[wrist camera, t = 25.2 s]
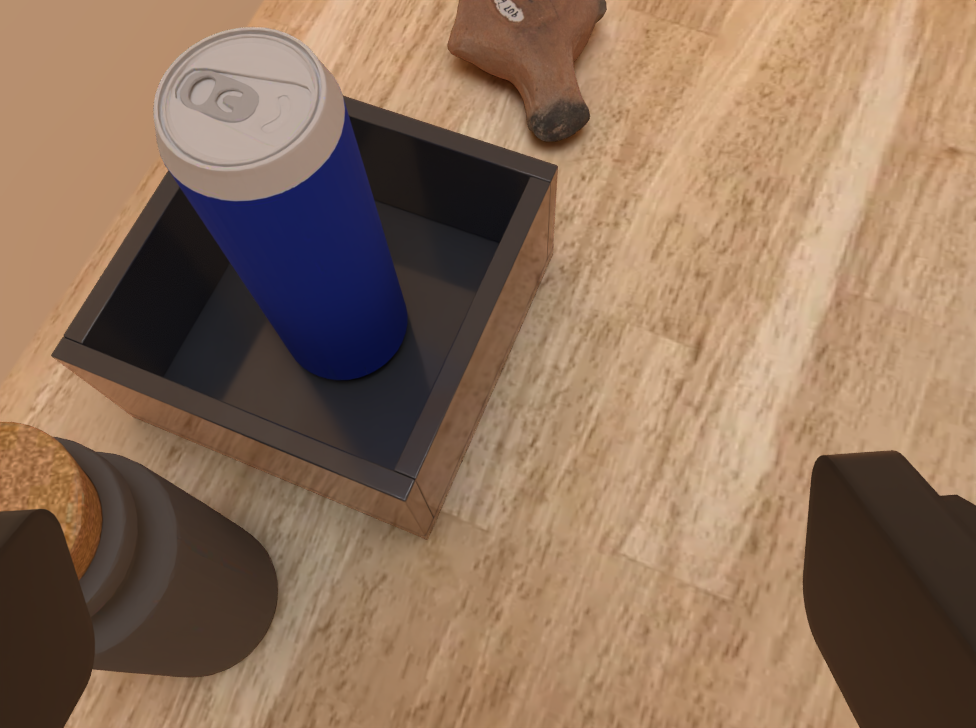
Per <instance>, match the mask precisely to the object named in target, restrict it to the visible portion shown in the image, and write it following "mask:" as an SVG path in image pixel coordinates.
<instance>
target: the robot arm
mask: <svg viewBox="0 0 976 728" xmlns="http://www.w3.org/2000/svg"><path fill="white" fill-rule="evenodd" d="M803 596H804V604H805V610H806V615H807V619H808V623H809V626H810V629H811V632H812V635H813V637H814V639H815V642H816V644H817V646H818V648H819V650H820V652H821V653H822V655H823V657H824V659H825V661H826V663H827V665H828V667H829V669H830V671H831V673H832V675H833V677H834V679H835V681H836V683H837V685H838V686H839V688H840V690H841V692H842V694H843V696H844V698H845V700H846V702H847V704H848V706H849V708H850V710H851V712H852V714H853V716H854V718H855V719H856V721H857V723H858V725H859V727H860V728H976V505H974V504H972V503H971V502H969V501H967V500H965V499H963V498H962V497H960V496H958V495H946V496H939V495H938V493H937V492H936V491H935V490H934V489H933V488H932V487H931V486H930V485H929V484H928V482H927V481H926V480H925V479H924V478H923V477H922V476H921V475H920V474H919V472H918V471H917V470H916V469H915V468H914V467H913V466H912V465H911V464H910V463H909V461H908V460H907V459H906V458H905V457H904V456H903V455H902V454H901V453H899V452H897V451H893V450H891V451H877V452H863V453H849V454H835V455H823V456H820V457H819V458H817V460H816V462H815V464H814V467H813V471H812V477H811V487H810V499H809V511H808V523H807V535H806V547H805V558H804V570H803ZM94 656H95V634H94V628H93V624H92V620H91V617H90V614H89V611H88V608H87V605H86V601H85V598H84V595H83V592H82V589H81V586H80V583H79V580H78V576H77V573H76V570H75V567H74V564H73V561H72V558H71V555H70V551H69V548H68V545H67V542H66V539H65V536H64V533H63V530H62V527H61V525H60V523H59V521H58V519H57V518H56V516H55V515H54V514H53V513H52V512H50V511H49V510H46V509H30V510H16V511H2V512H0V728H64V726H65V724H66V722H67V720H68V719H69V717H70V715H71V713H72V711H73V710H74V708H75V706H76V704H77V702H78V701H79V699H80V697H81V695H82V693H83V692H84V690H85V688H86V686H87V684H88V681H89V679H90V676H91V672H92V668H93V663H94Z"/></svg>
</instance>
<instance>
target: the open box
mask: <svg viewBox="0 0 976 728" xmlns="http://www.w3.org/2000/svg"><path fill="white" fill-rule="evenodd" d="M343 98H344V101H345V105H346V108H347V111H348V115H349V118H350V121H351V125H352V128H353V131H354V135H355V138H356V141H357V145H358V148H359V151H360V155H361V158H362V161H363V164H364V168H365V171H366V174H367V178H368V181H369V184H370V188H371V191H372V194H373V198H374V201H375V204H376V208H377V211H378V214H379V218H380V221H381V224H382V228H383V231H384V234H385V238H386V241H387V244H388V248H389V251H390V254H391V258H392V261H393V264H394V268H395V271H396V274H397V278H398V281H399V284H400V288H401V291H402V294H403V298H404V301H405V304H406V309H407V329H406V333H405V336H404V339H403V342H402V344H401V345H400V347H399V349H398V350H397V352H396V353H395V354H394V356H393V357H392V358H391V359H390V360H389V361H388V362H387V363H386V364H385V365H383V366H382V367H380V368H379V369H378V370H376V371H374V372H372V373H370V374H368V375H365V376H362V377H359V378H355V379H350V380H333V379H327V378H323V377H319V376H317V375H315V374H313V373H310V372H309V371H308V370H306V369H305V368H303V367H302V366H301V365H300V364H299V363H298V362H297V361H296V360H295V359H294V357H293V356H292V355H291V353H290V352H289V350H288V349H287V347H286V346H285V344H284V343H283V341H282V340H281V338H280V337H279V335H278V334H277V332H276V331H275V329H274V328H273V326H272V325H271V323H270V322H269V320H268V319H267V317H266V316H265V314H264V313H263V311H262V310H261V308H260V307H259V305H258V304H257V302H256V301H255V299H254V298H253V296H252V295H251V293H250V292H249V290H248V289H247V287H246V286H245V284H244V283H243V281H242V280H241V278H240V277H239V275H238V274H237V272H236V271H235V269H234V268H233V266H232V265H231V263H230V262H229V260H228V259H227V257H226V256H225V254H224V253H223V251H222V250H221V248H220V247H219V245H218V244H217V242H216V241H215V239H214V238H213V236H212V235H211V233H210V232H209V230H208V229H207V227H206V226H205V224H204V223H203V221H202V220H201V218H200V217H199V215H198V214H197V212H196V211H195V209H194V208H193V206H192V205H191V203H190V202H189V200H188V199H187V197H186V196H185V194H184V193H183V191H182V190H181V188H180V187H179V185H178V184H177V182H176V181H175V179H174V178H173V176H172V175H171V173H170V172H169V170H168V172H167V173H166V175H165V176H164V178H163V180H162V181H161V183H160V184H159V186H158V187H157V189H156V191H155V192H154V194H153V195H152V197H151V198H150V200H149V202H148V203H147V205H146V206H145V208H144V209H143V211H142V213H141V214H140V216H139V217H138V219H137V220H136V222H135V224H134V225H133V227H132V228H131V230H130V232H129V233H128V235H127V236H126V238H125V239H124V241H123V243H122V244H121V246H120V247H119V249H118V250H117V252H116V254H115V255H114V257H113V258H112V260H111V261H110V263H109V265H108V266H107V268H106V269H105V271H104V272H103V274H102V276H101V277H100V279H99V280H98V282H97V283H96V285H95V287H94V288H93V290H92V291H91V293H90V294H89V296H88V298H87V299H86V301H85V302H84V304H83V305H82V307H81V309H80V310H79V312H78V313H77V315H76V316H75V318H74V320H73V321H72V323H71V324H70V326H69V327H68V329H67V331H66V332H65V334H64V337H63V338H62V339H61V340H60V342H59V344H58V345H57V347H56V348H55V350H54V351H53V353H52V355H51V356H52V357H53V358H54V359H56V360H57V361H58V362H60V363H61V364H63V365H64V366H65V367H67V368H68V369H69V370H71V371H72V372H73V373H75V374H76V375H77V376H79V377H80V378H81V379H83V380H84V381H85V382H87V383H88V384H89V385H91V386H92V387H93V388H95V389H96V390H98V391H99V392H100V393H102V394H103V395H104V396H106V397H107V398H108V399H110V400H111V401H112V402H114V403H115V404H116V405H118V406H119V407H120V408H122V409H123V410H124V411H126V412H127V413H128V414H130V415H131V416H132V417H135V418H137V419H139V420H142V421H144V422H147V423H149V424H151V425H154V426H156V427H159V428H161V429H163V430H166V431H168V432H170V433H173V434H175V435H178V436H180V437H182V438H185V439H187V440H190V441H192V442H194V443H197V444H199V445H202V446H204V447H206V448H209V449H211V450H213V451H216V452H218V453H221V454H223V455H225V456H228V457H230V458H233V459H235V460H237V461H240V462H242V463H245V464H247V465H249V466H252V467H254V468H256V469H259V470H261V471H264V472H266V473H268V474H271V475H273V476H276V477H278V478H280V479H283V480H285V481H288V482H290V483H292V484H295V485H297V486H300V487H302V488H304V489H307V490H309V491H311V492H314V493H316V494H319V495H321V496H323V497H326V498H328V499H331V500H333V501H335V502H338V503H340V504H343V505H345V506H347V507H350V508H352V509H354V510H357V511H359V512H362V513H364V514H366V515H369V516H371V517H374V518H376V519H378V520H381V521H383V522H386V523H388V524H390V525H393V526H395V527H397V528H400V529H402V530H405V531H407V532H409V533H412V534H414V535H417V536H419V537H421V538H424V539H426V540H427V539H428V538H429V535H430V533H431V531H432V529H433V526H434V524H435V522H436V520H437V517H438V515H439V513H440V510H441V508H442V506H443V504H444V501H445V499H446V497H447V494H448V492H449V490H450V488H451V485H452V483H453V481H454V478H455V476H456V474H457V472H458V469H459V467H460V465H461V463H462V460H463V458H464V456H465V453H466V451H467V449H468V447H469V444H470V442H471V440H472V437H473V435H474V433H475V431H476V428H477V426H478V424H479V422H480V419H481V417H482V415H483V412H484V410H485V408H486V406H487V403H488V401H489V399H490V396H491V394H492V392H493V390H494V387H495V385H496V383H497V380H498V378H499V376H500V374H501V371H502V369H503V367H504V365H505V362H506V360H507V358H508V355H509V353H510V351H511V349H512V346H513V344H514V342H515V339H516V337H517V335H518V333H519V330H520V328H521V326H522V324H523V321H524V319H525V317H526V314H527V312H528V310H529V308H530V305H531V303H532V301H533V298H534V296H535V294H536V292H537V289H538V287H539V285H540V282H541V280H542V278H543V276H544V273H545V271H546V269H547V267H548V264H549V262H550V260H551V257H552V255H553V240H554V224H555V207H556V191H557V174H558V166H557V165H554V164H551V163H548V162H545V161H542V160H539V159H536V158H533V157H530V156H527V155H524V154H520V153H517V152H514V151H511V150H508V149H505V148H502V147H499V146H496V145H493V144H490V143H487V142H484V141H481V140H478V139H475V138H471V137H468V136H465V135H462V134H459V133H456V132H453V131H450V130H447V129H444V128H441V127H438V126H435V125H432V124H429V123H425V122H422V121H419V120H416V119H413V118H410V117H407V116H404V115H401V114H398V113H395V112H392V111H389V110H386V109H383V108H380V107H376V106H373V105H370V104H367V103H364V102H361V101H358V100H355V99H352V98H349V97H346V96H343Z"/></svg>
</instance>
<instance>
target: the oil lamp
mask: <svg viewBox="0 0 976 728" xmlns="http://www.w3.org/2000/svg"><path fill="white" fill-rule="evenodd" d="M606 10H607V9H606V1H605V0H459V4H458V9H457V15H456V20H455V23H454V26H453V28H452V31H451V35H450V38H449V41H448V50H449V51H450V52H451V54H453V55H455V56H457V57H460V58H462V59H464V60H466V61H468V62H471V63H473V64H474V65H476V66H477V67H479V68H480V69H482V70H484V71H485V72H487V73H489V74H491V75H494V76H497V77H499V78H502V79H506V80H509V81H510V82H511V83H513V84H514V85H515V87H516V88H517V89H518V91H519V93H520V95H521V97H522V99H523V101H524V105H525V110H526V114H527V120H528V127H529V129H530V130H531V131H533V132H534V134H535V136H536V137H537V138H539V139H541V140H543V141H559V140H562V139H565V138H568V137H570V136H571V135H573V134H575V132H576V131H578V130H580V129H581V128H582V127H583V126H584V125H585V124H586V123H587V122H588V121H589V119H590V114H589V109H588V107H587V105H586V104H585V102H584V100H583V98H582V96H581V93H580V90H579V87H578V84H577V80H576V76H575V72H574V66H573V62H574V61H575V60H576V59H577V58H578V56H579V55H580V54H581V52H582V50H583V48H584V47H585V45H586V43H587V41H588V39H589V37H590V35H591V32H592V30H593V28H594V26H595V24H596V23H597V22H598V21H599V20H600V19H601V18H602V17H603V16H604V14H605V12H606Z"/></svg>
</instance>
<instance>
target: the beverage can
mask: <svg viewBox="0 0 976 728" xmlns="http://www.w3.org/2000/svg"><path fill="white" fill-rule="evenodd" d="M153 109H154V123H155V130H156V138H157V144H158V148H159V152H160V155H161V157H162V159H163V162H164V164H165V166H166V167H167V169H168V170H169V172H170V173H171V175H172V176H173V178H174V179H175V181H176V182H177V184H178V185H179V187H180V188H181V190H182V191H183V193H184V194H185V196H186V197H187V199H188V200H189V202H190V203H191V205H192V206H193V208H194V209H195V211H196V212H197V214H198V215H199V217H200V218H201V220H202V221H203V223H204V224H205V226H206V227H207V229H208V230H209V232H210V233H211V235H212V236H213V238H214V239H215V241H216V242H217V244H218V245H219V247H220V248H221V250H222V251H223V253H224V254H225V256H226V257H227V259H228V260H229V262H230V263H231V265H232V266H233V268H234V269H235V271H236V272H237V274H238V275H239V277H240V278H241V280H242V281H243V283H244V284H245V286H246V287H247V289H248V290H249V292H250V293H251V295H252V296H253V298H254V299H255V301H256V302H257V304H258V305H259V307H260V308H261V310H262V311H263V313H264V314H265V316H266V317H267V319H268V320H269V322H270V323H271V325H272V326H273V328H274V329H275V331H276V332H277V334H278V335H279V337H280V338H281V340H282V341H283V343H284V344H285V346H286V347H287V349H288V350H289V352H290V353H291V355H292V356H293V357H294V359H295V360H296V361H297V362H298V363H299V364H300V365H301V366H302V367H303V368H305V369H306V370H308V371H309V372H310V373H313V374H315V375H317V376H319V377H323V378H327V379H333V380H350V379H355V378H359V377H362V376H365V375H368V374H370V373H372V372H374V371H376V370H378V369H379V368H380V367H382V366H383V365H385V364H386V363H387V362H388V361H389V360H390V359H391V358H392V357H393V356H394V354H395V353H396V352H397V350H398V349H399V347H400V345H401V344H402V342H403V339H404V336H405V333H406V329H407V309H406V304H405V301H404V298H403V294H402V291H401V288H400V284H399V281H398V278H397V274H396V271H395V268H394V264H393V261H392V258H391V254H390V251H389V248H388V244H387V241H386V238H385V234H384V231H383V228H382V224H381V221H380V218H379V214H378V211H377V208H376V204H375V201H374V198H373V194H372V191H371V188H370V184H369V181H368V178H367V174H366V171H365V168H364V164H363V161H362V158H361V155H360V151H359V148H358V145H357V141H356V138H355V135H354V131H353V128H352V125H351V121H350V118H349V115H348V111H347V108H346V105H345V101H344V98H343V95H342V92H341V89H340V87H339V85H338V83H337V81H336V80H335V78H334V76H333V75H332V74H331V73H330V71H329V70H328V69H327V68H326V67H325V66H324V65H323V64H322V62H321V61H320V60H319V59H318V58H317V56H316V55H315V54H314V53H313V52H312V51H311V49H310V48H309V47H307V46H306V45H305V44H304V43H303V42H301V41H300V40H298V39H297V38H295V37H293V36H291V35H289V34H287V33H284V32H281V31H279V30H274V29H269V28H261V27H244V28H237V29H231V30H226V31H223V32H220V33H216V34H214V35H211V36H209V37H207V38H205V39H203V40H201V41H199V42H198V43H196V44H194V45H193V46H191V47H190V48H188V49H187V50H186V51H185V52H183V53H182V54H181V55H180V56H179V57H178V58H177V59H176V60H175V61H174V62H173V63H172V64H171V66H170V67H169V68H168V70H167V71H166V72H165V74H164V76H163V78H162V80H161V81H160V83H159V86H158V89H157V92H156V95H155V101H154V108H153Z"/></svg>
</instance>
